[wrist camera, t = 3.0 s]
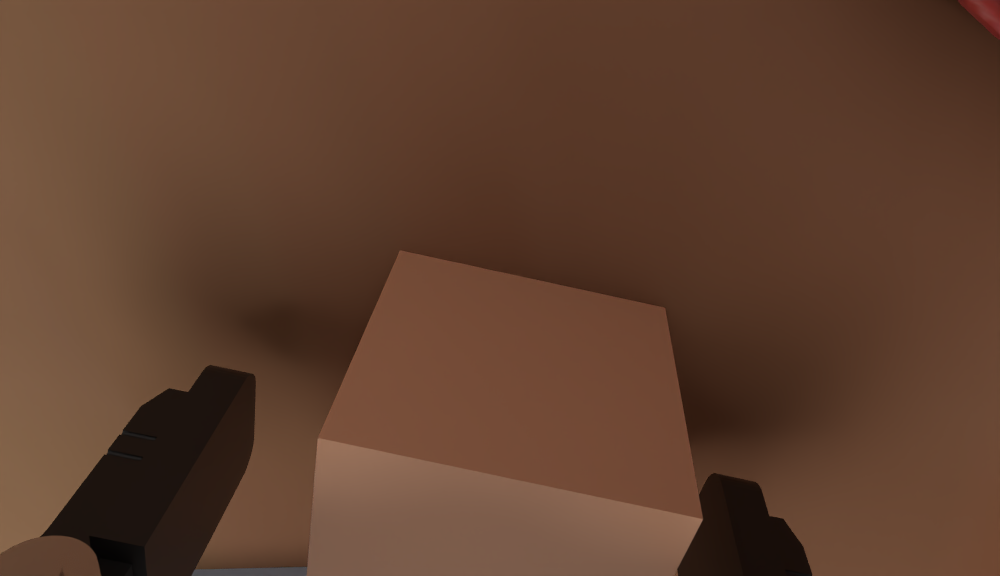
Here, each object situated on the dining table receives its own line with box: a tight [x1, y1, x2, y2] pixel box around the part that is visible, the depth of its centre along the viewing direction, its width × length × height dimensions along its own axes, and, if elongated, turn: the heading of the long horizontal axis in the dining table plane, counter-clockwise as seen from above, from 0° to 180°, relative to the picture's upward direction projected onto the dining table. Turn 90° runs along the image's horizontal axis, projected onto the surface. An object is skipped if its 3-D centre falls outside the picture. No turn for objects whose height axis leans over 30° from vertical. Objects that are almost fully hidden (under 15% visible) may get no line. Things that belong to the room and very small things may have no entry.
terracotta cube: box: [307, 250, 703, 576], centre depth 13 cm, size 5×5×5 cm
